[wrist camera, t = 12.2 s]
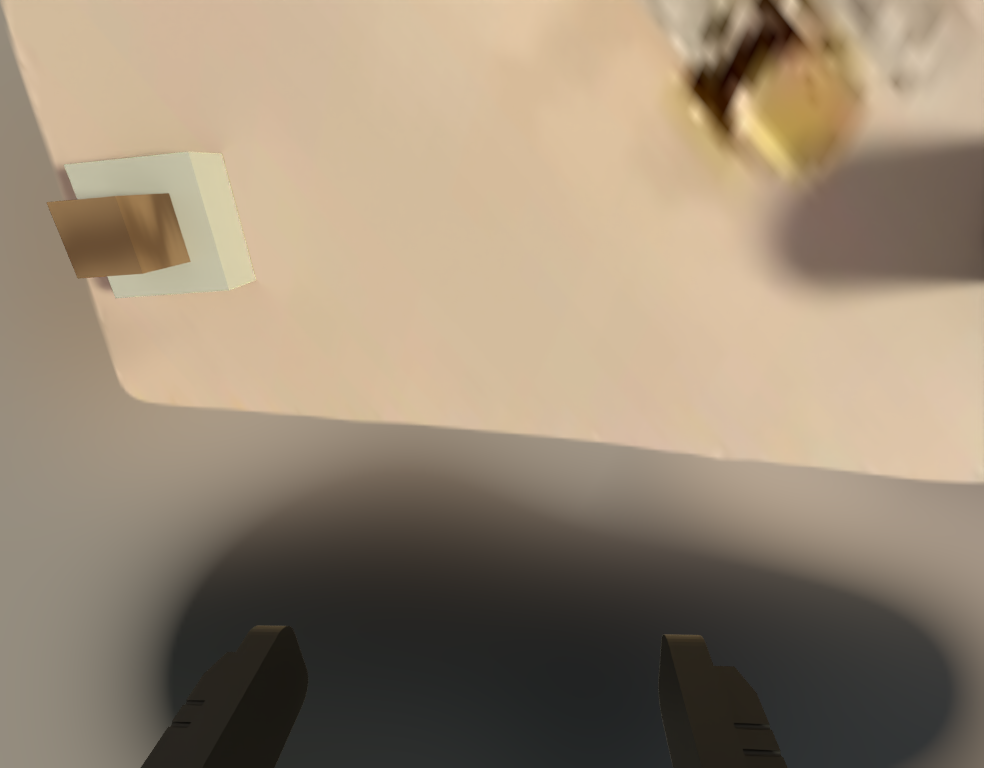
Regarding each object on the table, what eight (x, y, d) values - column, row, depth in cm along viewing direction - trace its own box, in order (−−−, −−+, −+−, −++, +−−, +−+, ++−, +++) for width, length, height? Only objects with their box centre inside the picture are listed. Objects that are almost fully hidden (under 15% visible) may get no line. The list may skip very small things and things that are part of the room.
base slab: (107, 165, 40) (63, 164, 36) (221, 153, 38) (188, 151, 35) (151, 287, 43) (115, 298, 40) (256, 280, 42) (229, 290, 39)
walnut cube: (108, 198, 37) (46, 202, 32) (168, 193, 36) (115, 196, 32) (132, 266, 39) (77, 278, 34) (190, 261, 38) (142, 273, 33)
